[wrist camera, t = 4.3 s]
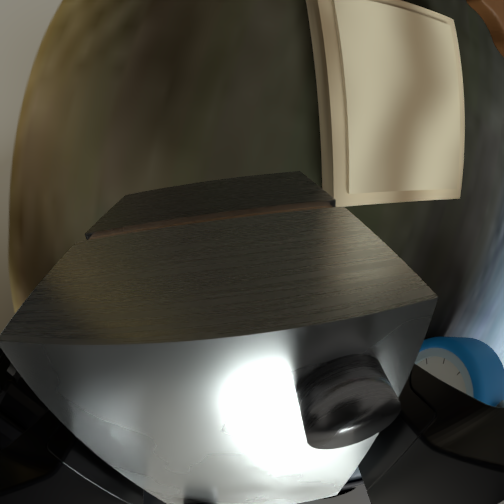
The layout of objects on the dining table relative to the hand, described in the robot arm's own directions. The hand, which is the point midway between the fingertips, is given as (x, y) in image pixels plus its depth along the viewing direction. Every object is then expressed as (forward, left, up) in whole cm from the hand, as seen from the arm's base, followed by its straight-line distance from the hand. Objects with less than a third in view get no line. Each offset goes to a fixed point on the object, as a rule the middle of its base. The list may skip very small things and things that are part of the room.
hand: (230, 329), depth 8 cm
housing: (0, 0, -1) cm, 1 cm away
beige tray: (+11, +7, -10) cm, 16 cm away
